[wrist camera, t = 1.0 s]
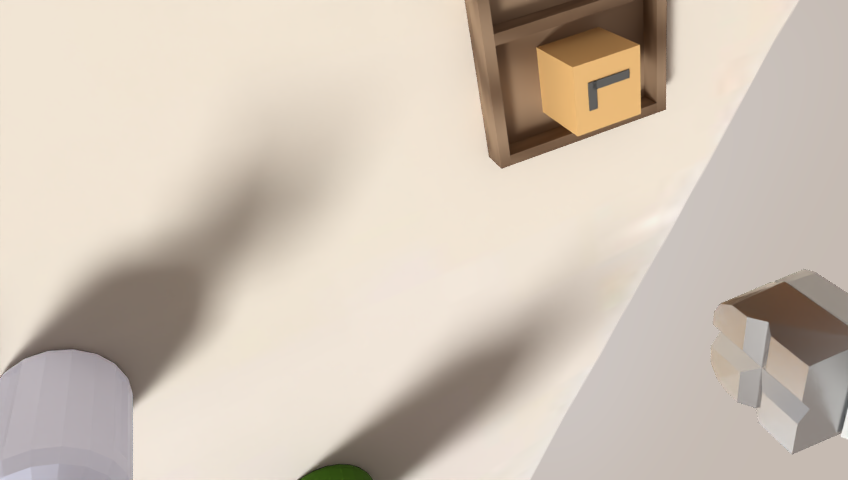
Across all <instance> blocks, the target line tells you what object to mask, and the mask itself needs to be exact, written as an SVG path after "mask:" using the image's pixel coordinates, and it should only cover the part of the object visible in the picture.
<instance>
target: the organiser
mask: <svg viewBox="0 0 848 480" xmlns="http://www.w3.org/2000/svg"><path fill="white" fill-rule="evenodd" d="M465 5H466V11H467V18H468V24H469V31H470V37H471V43H472V50H473V56H474V63H475V69H476V75H477V82H478V88H479V95H480V101H481V108H482V114H483V120H484V127H485V133H486V140H487V146H488V152H489V157H490V158H491V159H492V160H493V161H494V162H495V163H496V164H497V165H498V166H499V167H501V168H505V167H507V166H510V165H513V164H516V163H518V162H521V161H524V160H527V159H530V158H532V157H535V156H538V155H541V154H543V153H546V152H549V151H552V150H555V149H557V148H560V147H563V146H566V145H568V144H571V143H574V142H577V141H580V140H582V139H585V138H588V137H591V136H594V135H596V134H599V133H602V132H605V131H607V130H610V129H613V128H616V127H619V126H621V125H624V124H627V123H630V122H632V121H635V120H638V119H641V118H644V117H646V116H649V115H652V114H655V113H657V112H660V111H663V110H666V28H667V0H465ZM597 27H600V28H602V29H605V30H607V31H609V32H612V33H614V34H616V35H619V36H621V37H623V38H625V39H628V40H630V41H632V42H635V43H637V44H639V45H640V82H641V114H639V115H636V116H634V117H631V118H628V119H625V120H622V121H620V122H617V123H614V124H611V125H609V126H606V127H603V128H600V129H597V130H595V131H592V132H589V133H586V134H583V135H581V136H576V135H575V134H573V133H572V132H571V131H569V130H568V129H566V128H565V127H563V126H562V125H561V124H559V123H558V122H556V121H555V120H554V119H552V118H551V117H549V116H548V115H546V114H545V113H544V112H543V108H542V98H541V88H540V79H539V69H538V59H537V49H536V47H539V46H542V45H545V44H548V43H551V42H554V41H557V40H560V39H563V38H566V37H569V36H572V35H575V34H578V33H582V32H585V31H588V30H591V29H594V28H597Z"/></svg>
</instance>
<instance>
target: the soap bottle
mask: <svg viewBox="0 0 848 480" xmlns="http://www.w3.org/2000/svg"><path fill="white" fill-rule="evenodd" d="M0 480H133V393H132V390H131V386H130V383H129V379H128V378H127V377H126V375H125V374H124V373H123V372H122V371H121V370H120V369H119V368H118V366H117V365H116V364H115V363H113V362H111V361H109V360H107V359H105V358H103V357H102V356H100V355H98V354H95V353H90V352H85V351H80V350H74V349H69V350H54V351H46V352H43V353H40V354H37V355H34V356H31V357H28V358H25V359H23V360H22V361H20V362H19V363H18V364H16V365H15V366H13V367H12V368H10V369H9V370H8V371H6V372H5V373H4V374H3V375H2V377H1V378H0Z"/></svg>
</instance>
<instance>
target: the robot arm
mask: <svg viewBox="0 0 848 480" xmlns="http://www.w3.org/2000/svg"><path fill="white" fill-rule="evenodd" d="M713 325H714V326H715V327H716V328H717V329H719V330H720V333H719V335H718V336H717V338H716V339H715V341H714V342H713V344H712V345H711V364H712V367H713V369H714V372H715V375H716V377H717V379H718V380H719V382H720V383H721V385H722V386H723V388H724V389H725V390H726V392H728V394H730V396H732V397H733V399H734V400H735V401H737V402H738V403H741V404H745V405H748V406H751V407H754V408H756V410H757V417H758V422H759V424H760V425H761V426H762V427H764V428H765V429H766V430H767V431H768V432H769V433H770V434H771V435H772V436H773V437H774V438H775V439H776V440H777V441H778V442H779V443H780V444H781V445H783V446H784V447H785V448H786V449H787V450H788V451H789V452H790V453H791V454H794V453H796V452H798V451H801V450H803V449H806V448H808V447H810V446H813V445H815V444H817V443H820V442H822V441H824V440H826V439H829V438H831V437H833V436H836V435H838V434H840V433H842V434H841V437H843V438H845V439H848V293H847V292H845V291H844V290H842V289H840V288H839V287H837V286H836V285H834V284H833V283H831V282H830V281H828V280H827V279H825V278H824V277H822V276H821V275H819V274H817V273H816V272H813V271H810V270H806V269H803V270H801V271H798V272H796V273H793V274H791V275H788V276H786V277H784V278H782V279H779V280H776V281H775V282H770V283H768V284H765V285H763V286H761V287H758V288H756V289H754V290H751V291H749V292H747V293H744V294H742V295H740V296H737V297H735V298H732V299H730V300H728V301H725V302H723V303H721V304H719V305H718V307H717V308H716V310H715V311H714V319H713Z"/></svg>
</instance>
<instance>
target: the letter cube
mask: <svg viewBox="0 0 848 480" xmlns="http://www.w3.org/2000/svg"><path fill="white" fill-rule="evenodd" d="M536 49H537V59H538V69H539V79H540V88H541V98H542V108H543V112H544V113H545V114H546V115H548V116H549V117H551V118H552V119H554V120H555V121H556V122H558V123H559V124H561V125H562V126H563V127H565V128H566V129H568V130H569V131H571V132H572V133H573V134H575V135H576V136H581V135H583V134H586V133H589V132H592V131H595V130H597V129H600V128H603V127H606V126H609V125H611V124H614V123H617V122H620V121H622V120H625V119H628V118H631V117H634V116H636V115H639V114H641V82H640V45H639V44H637V43H635V42H632V41H630V40H628V39H625V38H623V37H621V36H619V35H616V34H614V33H612V32H609V31H607V30H605V29H602V28H600V27H597V28H594V29H591V30H588V31H585V32H582V33H578V34H575V35H572V36H569V37H566V38H563V39H560V40H557V41H554V42H551V43H548V44H545V45H542V46H539V47H536Z"/></svg>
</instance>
